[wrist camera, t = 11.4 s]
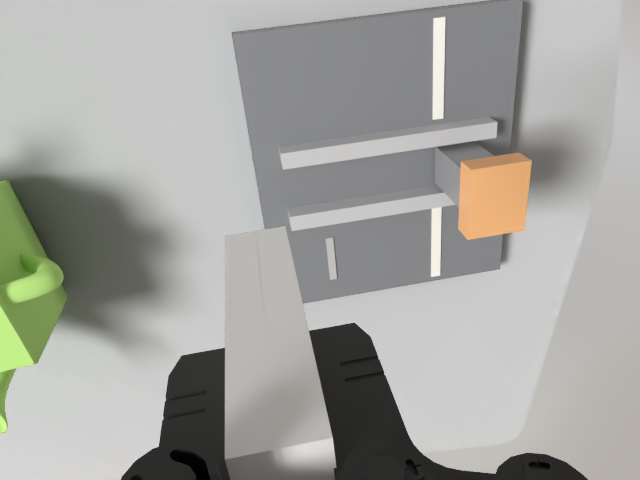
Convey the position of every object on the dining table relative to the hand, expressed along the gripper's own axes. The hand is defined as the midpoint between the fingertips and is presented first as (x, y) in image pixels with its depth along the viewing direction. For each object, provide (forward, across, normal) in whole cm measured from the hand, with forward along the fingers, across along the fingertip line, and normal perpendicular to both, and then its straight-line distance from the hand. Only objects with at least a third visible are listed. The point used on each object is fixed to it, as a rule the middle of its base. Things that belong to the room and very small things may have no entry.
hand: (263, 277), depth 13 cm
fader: (+25, +15, -8) cm, 30 cm away
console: (+26, +10, -8) cm, 29 cm away
